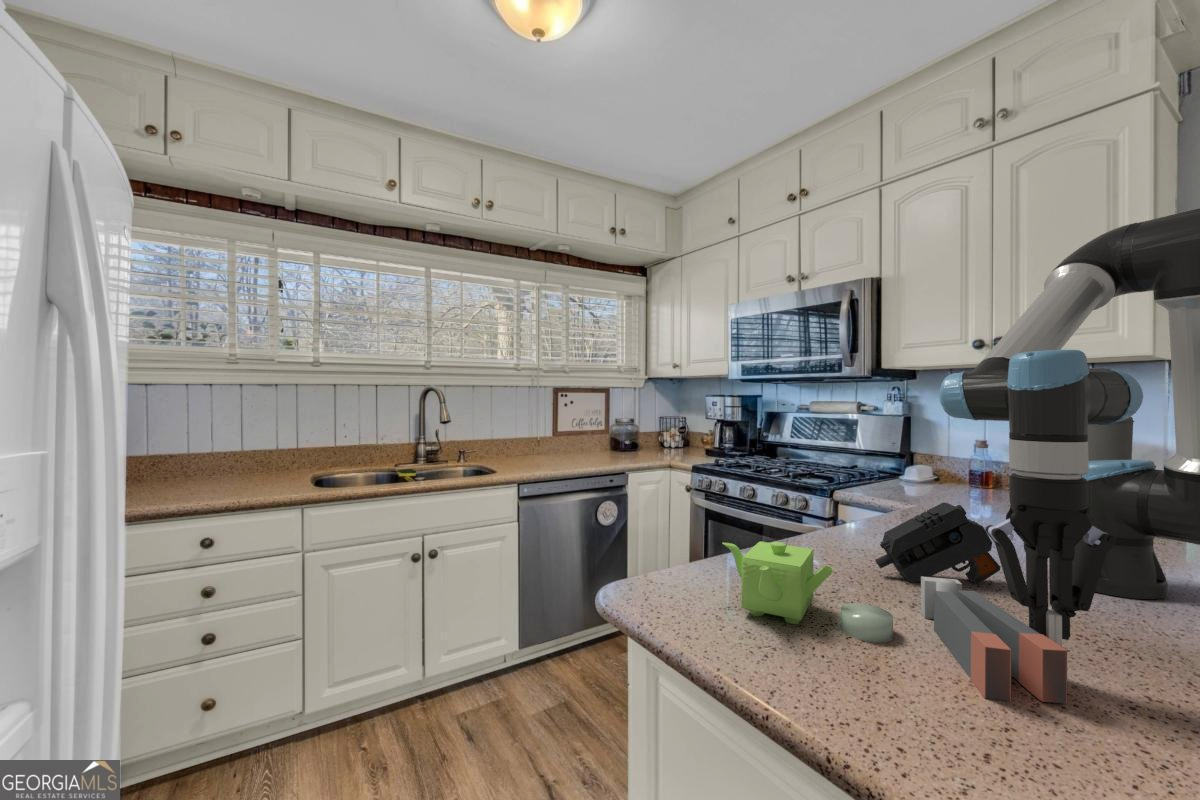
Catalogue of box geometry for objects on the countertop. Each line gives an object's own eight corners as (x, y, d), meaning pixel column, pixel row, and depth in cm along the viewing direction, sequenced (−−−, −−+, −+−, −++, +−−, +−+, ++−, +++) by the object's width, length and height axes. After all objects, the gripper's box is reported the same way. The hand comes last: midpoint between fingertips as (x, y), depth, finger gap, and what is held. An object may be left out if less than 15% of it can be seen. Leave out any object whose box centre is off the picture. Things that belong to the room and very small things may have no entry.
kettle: (762, 636, 76) (761, 560, 76) (716, 599, 90) (716, 535, 90) (847, 624, 80) (847, 552, 80) (791, 590, 94) (791, 529, 94)
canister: (1140, 539, 124) (1142, 394, 124) (1070, 532, 131) (1071, 394, 131) (1124, 528, 135) (1126, 394, 135) (1060, 521, 142) (1061, 394, 142)
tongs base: (920, 613, 84) (920, 572, 84) (957, 616, 83) (957, 575, 83) (984, 698, 61) (984, 642, 61) (1037, 705, 59) (1037, 648, 59)
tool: (1014, 574, 94) (968, 501, 95) (912, 619, 97) (870, 547, 98) (995, 563, 100) (952, 494, 101) (901, 605, 103) (860, 538, 104)
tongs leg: (956, 630, 77) (956, 589, 77) (975, 631, 77) (975, 590, 77) (1041, 701, 60) (1042, 649, 59) (1066, 703, 59) (1067, 650, 59)
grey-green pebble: (886, 625, 80) (886, 606, 80) (898, 646, 74) (898, 625, 74) (837, 619, 82) (837, 601, 82) (844, 640, 76) (844, 619, 76)
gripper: (1090, 471, 67) (1093, 654, 67) (974, 469, 70) (976, 643, 70) (1132, 480, 59) (1135, 686, 59) (1001, 477, 63) (1003, 671, 63)
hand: (1049, 662), depth 65 cm, fingers closed
